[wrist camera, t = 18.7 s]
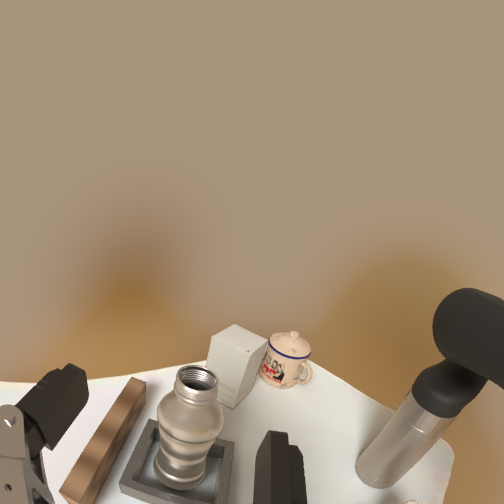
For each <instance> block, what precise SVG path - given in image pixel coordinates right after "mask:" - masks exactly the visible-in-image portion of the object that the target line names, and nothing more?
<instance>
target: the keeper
mask: <svg viewBox="0 0 504 504" xmlns="http://www.w3.org/2000/svg"><path fill="white" fill-rule="evenodd" d="M154 440H156V441H159V442H160V431H159V425H158V421H155V420H152V419H148V421H147V424H146V426H145V428H144V430H143V432H142V434H141V436H140V438H139V440H138V442H137V445H136V447H135V449H134V451H133V453H132V455H131V457H130V459H129V462H128V464H127V466H126V468H125V470H124V472H123V475H122V477H121V479H120V481H119V486H120V489H121V493H124V494H126V495H129V496H131V497H134V498H136V499H139V500H142V501H144V502H147V503H150V504H211V503H206V502H202V501H197V500H193V499H189V498H185V497H181V496H178V495H174V494H171V493H167V492H164V491H161V490H158V489H155V488H152V487H149V486H146V485H143V484H141V483H138V482H136V481H137V479H138V477H139V474H140V472H141V469H142V467H143V464H144V462H145V460H146V457H147V455H148V452H149V450H150V448H151V445H152V443H153V441H154ZM233 449H234V442H230V441H225V440H221V439H216V440H215V441H214V442H213V444H212V445H211V447H210V449H209V451H208V454H207V455H208V456H212V457H217V458H220V464H219V470H218V476H217V482H216V488H215V494H214V500H213V504H227V497H228V489H229V481H230V473H231V465H232V457H233Z"/></svg>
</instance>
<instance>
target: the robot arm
mask: <svg viewBox="0 0 504 504" xmlns="http://www.w3.org/2000/svg"><path fill="white" fill-rule="evenodd" d="M432 328H433V336H434V341H435V343H436V346H437V348H438V349H439V351H440V352H441V354H442V355H443V356H444V357H445V358H446V359H445V360H443V361H442V362H440V363H438V364H436V365H434V366H431V367H428V368H426V369H425V370H423V371H422V372H421V373H420V375H419V376H418V377H417V379H416V380H415V382H414V384H413V386H412V387H411V389H410V391H409V392H408V394H407V395H406V397H405V398H404V400H403V401H402V403H401V404H400V406H399V407H398V409H397V410H396V411H395V413H394V414H393V416H392V417H391V418H390V420H389V421H388V422H387V424H386V425H385V426H384V428H383V429H382V430H381V431H380V433H379V434H378V435H377V436H376V438H375V439H374V440H373V441H372V443H371V444H370V445H369V446H368V447H367V448H366V450H365V451H364V452H363V453H362V454H361V455H360V456H359V458H358V459H357V462H356V472H357V474H358V476H359V477H360V479H361V480H362V481H363V482H364V483H366V484H368V485H369V486H372V487H375V488H387V487H390V486H392V485H393V484H395V483H396V482H397V481H398V480H399V479H400V478H401V477H402V476H404V475H405V474H406V473H407V472H408V471H409V470H410V469H411V468H412V467H413V466H414V465H415V464H416V463H417V462H418V461H419V460H420V459H421V458H422V457H423V456H424V455H425V454H426V453H427V452H428V451H429V449H430V448H431V447H432V446H433V445H434V444H435V443H436V442H437V440H438V439H439V438H440V437H441V436H442V435H443V433H444V432H445V431H446V429H447V428H448V427H449V426H450V424H451V423H452V422H453V421H454V419H455V418H456V417H457V415H458V414H459V413H460V411H461V410H462V409H463V408H464V407H465V406H466V405H467V404H468V403H469V402H471V401H472V400H473V399H474V398H475V397H476V396H477V395H478V393H479V392H480V391H481V389H482V388H483V387H484V385H485V384H486V382H487V381H488V379H489V380H491V381H492V382H494V383H495V384H497V385H498V386H500V387H501V388H502V389H504V300H502V299H501V298H499V297H496V296H494V295H491V294H488V293H486V292H483V291H480V290H477V289H473V288H463V289H459V290H456V291H454V292H452V293H451V294H449V295H448V296H446V297H445V298H444V299H443V300H442V302H441V303H440V304H439V306H438V308H437V309H436V312H435V314H434V318H433V326H432ZM88 397H89V391H88V385H87V378H86V373H85V371H84V370H83V369H81V368H79V367H77V366H75V365H73V364H71V363H69V364H67V365H66V366H65V367H64V368H63V369H62V370H60V369H58V368H57V369H55V370H53V371H50V372H49V373H47V374H46V375H45V376H44V377H43V378H42V380H40V381H39V382H38V383H37V384H36V386H34V387H33V388H32V389H31V390H30V391H29V392H28V393H27V394H26V395H25V396H24V397H23V398H22V399H21V400H20V401H19V402H18V403H17V404H16V405H14V406H13V405H3V406H1V407H0V504H55V502H54V499H53V496H52V494H51V492H50V490H49V488H48V484H47V479H46V475H45V469H44V463H43V457H42V451H41V450H42V448H43V447H44V446H45V447H47V448H48V449H50V450H51V451H52V450H53V449H54V448H55V446H56V445H57V443H58V442H59V441H60V439H61V438H62V436H63V435H64V434H65V432H66V431H67V429H68V428H69V427H70V425H71V424H72V423H73V421H74V420H75V418H76V417H77V416H78V414H79V413H80V412H81V410H82V409H83V408H84V406H85V405H86V403H87V401H88ZM303 466H304V463H303V455H302V453H301V452H300V450H299V448H298V447H297V446H295V445H289V442H288V434H287V433H285V432H278V431H271V430H269V431H268V432H267V434H266V436H265V438H264V440H263V441H262V443H261V445H260V447H259V449H258V452H257V455H256V462H255V480H254V497H253V504H307V495H306V484H305V476H304V474H305V473H304V468H303Z"/></svg>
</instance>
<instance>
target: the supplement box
mask: <svg viewBox="0 0 504 504" xmlns="http://www.w3.org/2000/svg"><path fill="white" fill-rule="evenodd" d="M267 342H268V340H267V339H265V338H262V337H260V336H258V335H256V334H254V333H252V332H250V331H248V330H246V329H244V328H242V327H240V326H238V325H236V324H233V325H232V326H230V327H229V328H226V329H225V330H223V331H221V332H219V333H217V334H215V335H213V336H212V338H211V343H210V348H209V353H208V358H207V362H206V366H205V368H208V369H210V370H211V371H213V372H214V373H215V374H216V375H217V377H218V379H219V386H218V395H217V399H216V400H217V401H219V402H220V403H222V404H224V405H225V406H227V407H229V408H231V409H233V408H234V407H235V406H236V405H237V404H238V403H240V402H241V401H242V400H243V399H244V398H245V397H246V396H247V395H248V394H249V393H250V392H251V389H252V386H253V384H254V381H255V378H256V375H257V372H258V369H259V366H260V364H261V361H262V358H263V355H264V352H265V349H266V345H267Z"/></svg>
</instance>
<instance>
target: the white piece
mask: <svg viewBox="0 0 504 504" xmlns="http://www.w3.org/2000/svg"><path fill="white" fill-rule="evenodd" d="M402 504H421V503H420V502H418V501H415V500H410V501H407V502H404V503H402Z"/></svg>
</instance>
